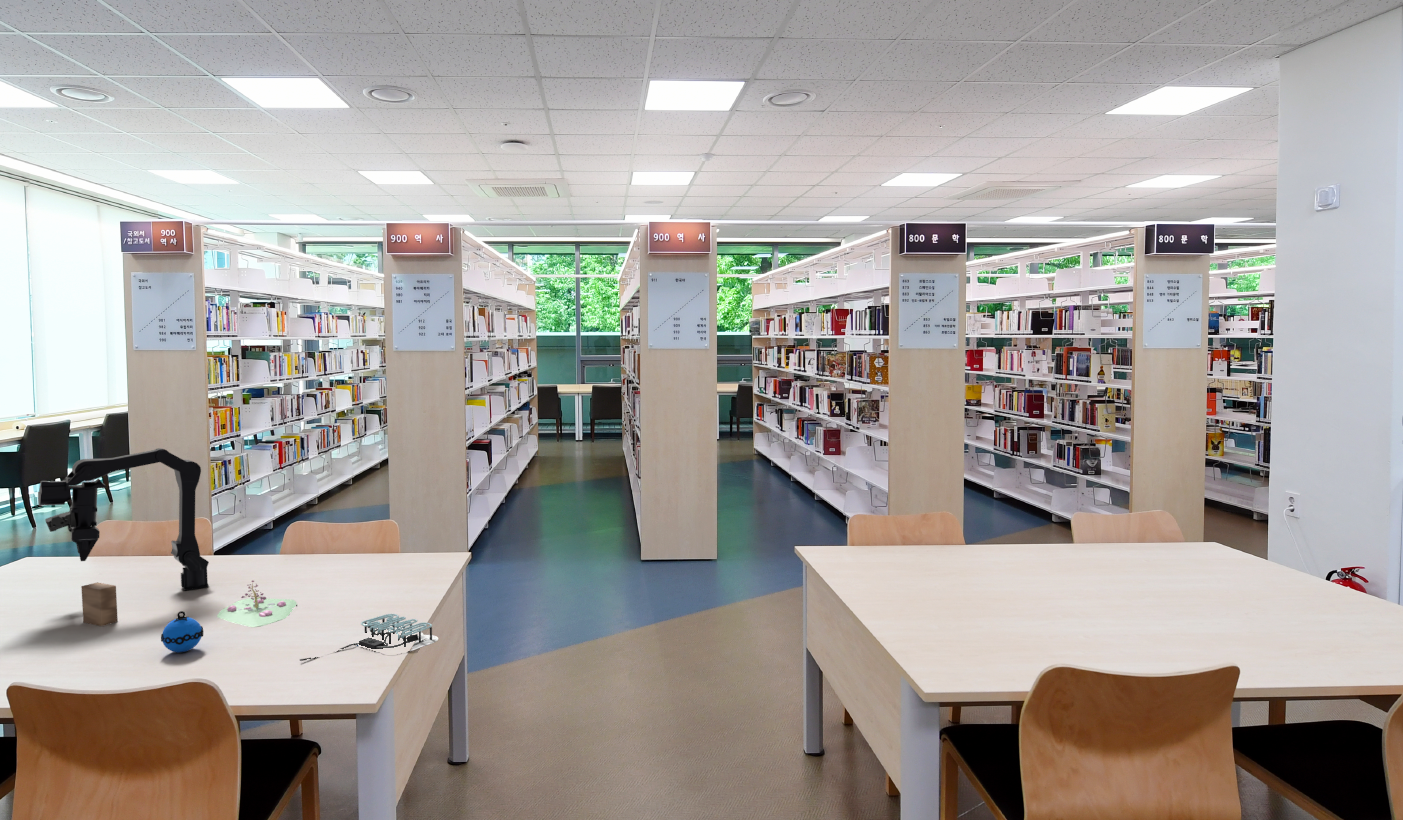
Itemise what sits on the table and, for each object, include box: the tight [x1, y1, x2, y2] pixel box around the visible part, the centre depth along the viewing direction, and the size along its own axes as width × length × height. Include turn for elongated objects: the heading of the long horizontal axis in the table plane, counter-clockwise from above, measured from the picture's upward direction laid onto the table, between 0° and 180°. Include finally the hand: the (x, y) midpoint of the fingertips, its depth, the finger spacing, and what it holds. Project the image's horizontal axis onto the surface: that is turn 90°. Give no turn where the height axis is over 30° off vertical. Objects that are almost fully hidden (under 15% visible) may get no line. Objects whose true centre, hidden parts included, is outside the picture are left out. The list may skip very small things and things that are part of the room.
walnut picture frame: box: [80, 582, 119, 627], centre depth 220 cm, size 4×8×10 cm, turn 67°
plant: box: [216, 580, 298, 628], centre depth 228 cm, size 25×21×9 cm
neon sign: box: [299, 613, 439, 662], centre depth 201 cm, size 21×4×29 cm
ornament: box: [160, 610, 204, 654], centre depth 198 cm, size 9×9×10 cm
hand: (81, 557), depth 233 cm, fingers open, 9 cm apart
